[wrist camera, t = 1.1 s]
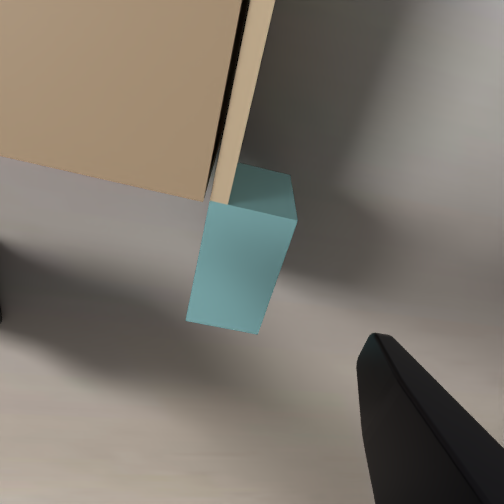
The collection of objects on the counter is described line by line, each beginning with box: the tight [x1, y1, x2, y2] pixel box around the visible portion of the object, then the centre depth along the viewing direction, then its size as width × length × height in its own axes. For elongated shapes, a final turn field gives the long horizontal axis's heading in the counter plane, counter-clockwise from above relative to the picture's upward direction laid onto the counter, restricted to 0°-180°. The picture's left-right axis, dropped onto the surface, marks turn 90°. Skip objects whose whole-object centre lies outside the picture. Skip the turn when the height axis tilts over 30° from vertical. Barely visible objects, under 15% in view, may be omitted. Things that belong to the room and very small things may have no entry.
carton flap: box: [186, 0, 298, 335], centre depth 13 cm, size 18×3×6 cm, turn 166°
